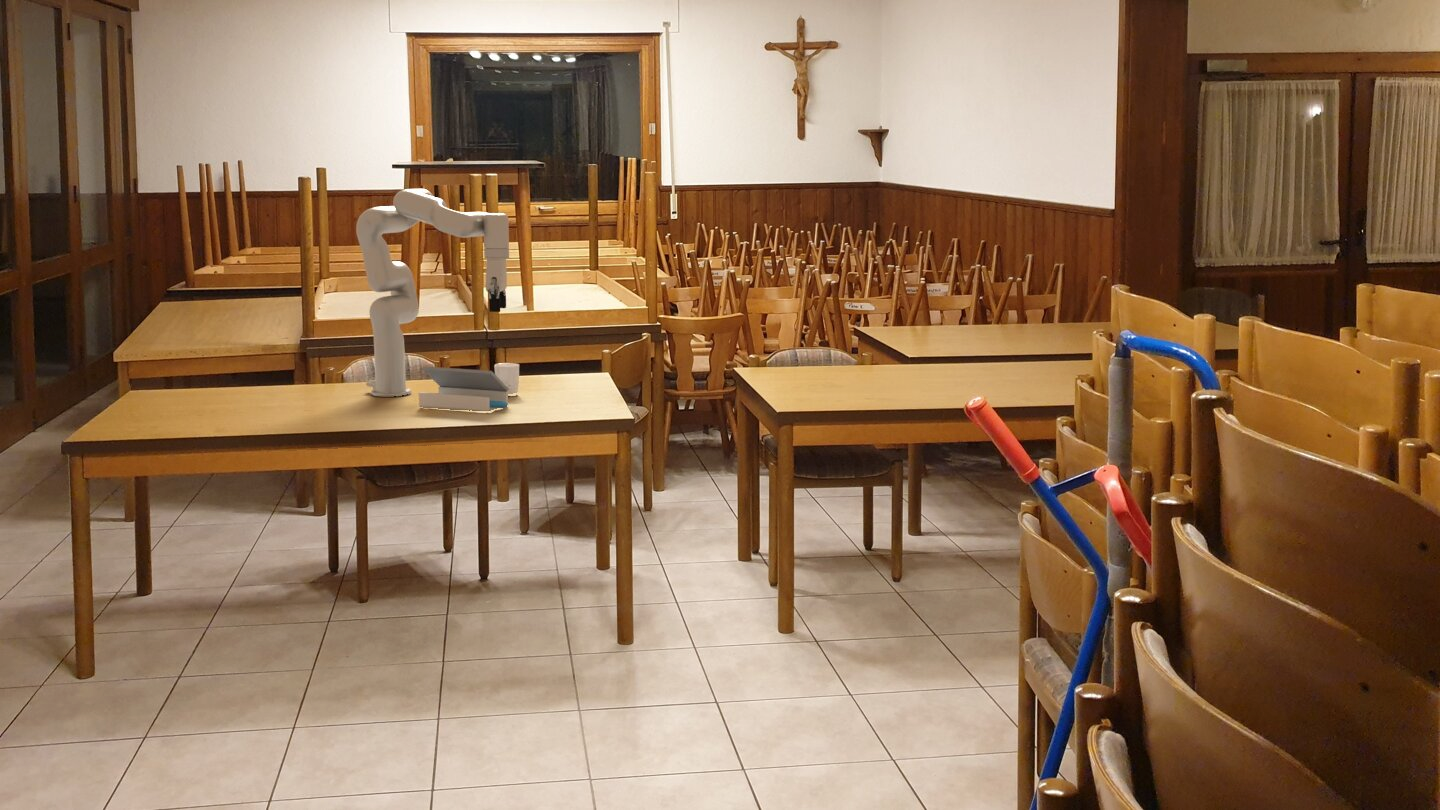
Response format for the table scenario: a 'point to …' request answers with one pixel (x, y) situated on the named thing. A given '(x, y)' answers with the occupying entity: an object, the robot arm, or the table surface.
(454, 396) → the pale long box
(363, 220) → the robot arm
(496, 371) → the white cup
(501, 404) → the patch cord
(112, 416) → the table surface
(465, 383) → the cover
